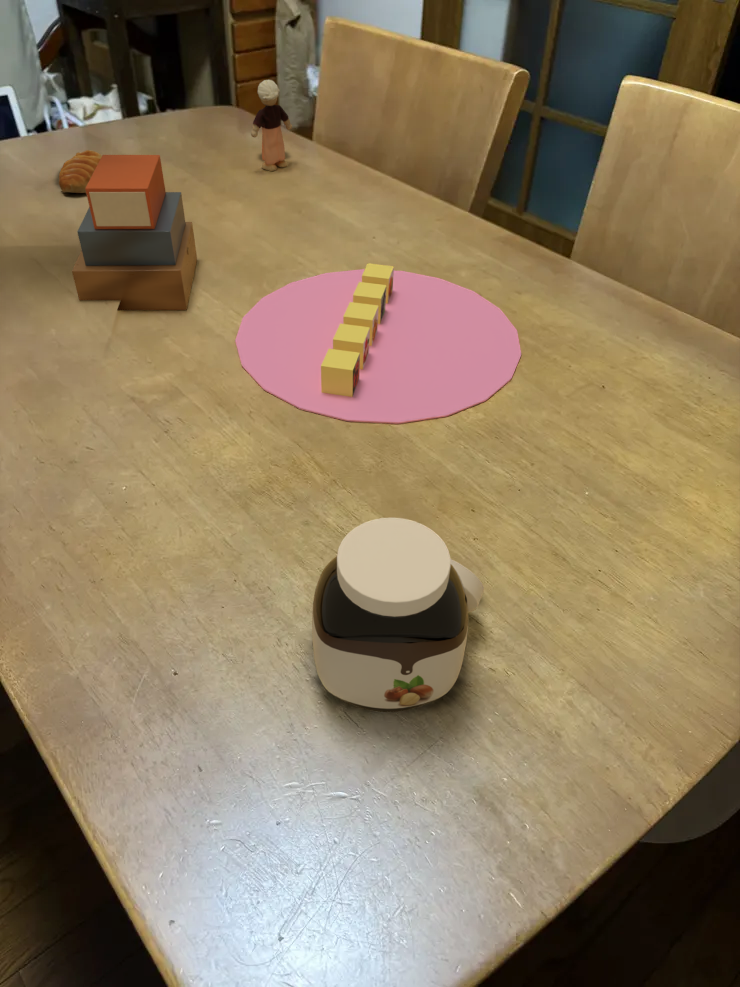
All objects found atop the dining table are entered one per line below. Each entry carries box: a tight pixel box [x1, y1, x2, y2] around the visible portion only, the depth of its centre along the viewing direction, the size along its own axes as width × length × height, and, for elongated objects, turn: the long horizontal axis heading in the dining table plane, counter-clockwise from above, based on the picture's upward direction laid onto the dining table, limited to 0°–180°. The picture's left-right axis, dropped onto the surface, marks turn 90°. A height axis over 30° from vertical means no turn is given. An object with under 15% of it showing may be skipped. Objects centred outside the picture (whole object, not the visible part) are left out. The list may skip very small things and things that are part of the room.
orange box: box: [85, 154, 167, 229], centre depth 85 cm, size 6×10×4 cm, turn 4°
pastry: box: [58, 149, 103, 194], centre depth 113 cm, size 9×7×4 cm
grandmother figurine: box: [250, 79, 293, 172], centre depth 117 cm, size 8×4×13 cm, turn 145°
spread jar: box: [311, 517, 485, 714], centre depth 50 cm, size 12×11×12 cm
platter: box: [234, 262, 522, 425], centre depth 84 cm, size 32×32×3 cm
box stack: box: [71, 191, 198, 311], centre depth 89 cm, size 12×13×9 cm
